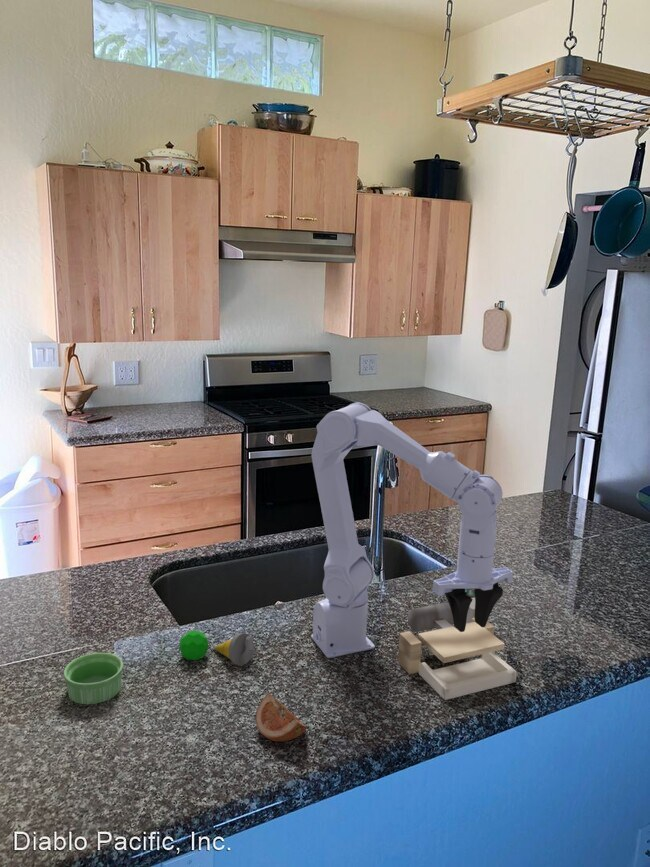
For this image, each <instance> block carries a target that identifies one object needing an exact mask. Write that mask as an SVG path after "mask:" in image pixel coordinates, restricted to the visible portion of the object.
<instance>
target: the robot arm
mask: <svg viewBox="0 0 650 867" xmlns="http://www.w3.org/2000/svg"><path fill="white" fill-rule="evenodd" d="M316 432H317V433H316V436H315V440H314V443H313V447H312V450H311V462H312V467H313V472H314V478H315V483H316V489H317V494H318V500H319V503H320V509H321V515H322V521H323V525H324V532H325V537H326V543H327V547H328V552H327V555H326V558H325V561H324V565H323V570H324V578H323V581H322V591H323V594H324V596H325V598H324V599H323V600H320V601H317V602H315V603H314V606H313V611H312V612H313V618H312V619H313V620H312V634H311V635H310V638H311V639H312V641H313V642H315V644H316V646H317V647H318V648H319V649H320V651H321V652H322V653H323V655H324V656H325V657H326V658H328V659H331V658H336V657H341V656H346V655H350V654H355V653H360V652H365V651H369V650H374V649H375V648H376V645H375V644H374V643H373V642H372V640H370V639H369V637H368V636H367V626H368V624H367V623H368V604H369V594H368V586H369V585H371V583H372V582H373V581H374V577H375V571H374V566H373V565H372V563H371V562H370V560H369V558H368V556H367V552H366V549H365V548H364V546H362V545H361V544H359V541H358V540H359V539H358V535H357V528H356V523H355V518H354V512H353V508H352V500H351V495H350V491H349V484H348V480H347V478H348V477H347V473H346V468H345V462H344V459H345V457H346V456H347V455H348V454H349V452H351V450H352V449H353V448H354V446H355V445H356V447H366V446H379V447H381V448H382V449H384V450H386V451H387V452H389V453H391V454H393V455H395V456H396V457H398V458H399V459H401V460H403V461H405V462H406V463H408V464H409V465H411V466H412V467H415V468H417V469H418V471H419V474H420V477H421V480H422V481H423V482H425V483H427V484H428V485H429V486H431V487H432V488H433V489H435V490H436V491H437V492H440V493H442V495H444V496H445V497H447V498H448V499H450V500H451V501H453V502H454V503H456V504H457V506H458V509H459V511H460V514H461V522H460V523H459V524H460V526H459V527H460V528H459V539H458V549H457V551H458V552H457V564H456V571H454V572H451V573H450V574H447V575H446V576H443V577H441V578H436V579H433V581H432V592H435V593H436V594H435V593H434V594H435V595H437V596H438V597H442V596H443V595H444V594H445V595H446V596H445V598H446V600H447V602H449V605H450V608H451V612H452V616H453V622H454V624H453V626H454V627H455V628H456V629H457V630H459V631H460V632H464V631H465V627H466V620H467V613H468V609H469V606H470V604H471V602H472V600H473V599H472V598H470V597H469V596H467V591H466V589H472V590H473V589H474V591H475V622H476V623H477V624H478V625H480V626H481V627H485V626H486V623H487V621H488V618H489V619H490V615H491V614H492V611H493V609H494V607H495V606H496V604H497V602H498V601H499V600H500V599H501V598H502V597H503V596H504V594H503V593H504V589H503V588H502V586H500V585H499V583H504V582H505V583H507V584H510V583H513V578H514V571H513V570H511V569H509V568H508V567H507V566H504V567H496V568H495V567H494V561H495V560H494V559H495V551H496V550H495V549H496V548H495V547H496V541H497V540H496V538H497V537H496V536H497V527H498V526H497V519H498V510H497V508H498V507H499V505H500V504H501V501H502V499H503V489H502V486H501V485H500V483H499V482H498V481H497V480H496V479H494V477H493V476H492V475H488V474H481V472H480V471H477V470H476V469H474V471H473V470H471V468H469V467H467V466H466V465H464V464H462V463H461V462H460V461H458V460H456V459H455V458H456V454H454V453H452V452H450V451H448V452H447V453H446V452H444V451H443V450H440V451H433V452H432V451H430V450H428V449H426V448H425V446H422V444H421V443H418V442H417V441H416V440H414V439H413V438H412V437H411V436H409V435H408V434H406V433H405V432H404V431H402V430H401V429H399V428H398V427H397V426H396V425H394V424H393V423H391V422H390V421H388V420H387V419H386V418H385V417H384V416H383V415H382V413H380V412H379V411H377V410H375V409H372V408H370V407H369V405H367V404H365V403H362V402H353V403H350V404H348V405H347V406H345V407H341V408H339V409H337V410H332V411H330V412H328V413H327V414H326V415H324V417H323V418H322V419H321V420H320V421H319V423H317V425H316ZM465 591H466V592H465ZM443 597H444V596H443ZM488 622H489V621H488Z"/></svg>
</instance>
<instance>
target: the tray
mask: <svg viewBox="0 0 650 867" xmlns="http://www.w3.org/2000/svg"><path fill="white" fill-rule="evenodd" d="M517 673H518V672H517V670H516V669H514V668H513V667H512V666H511V665H509V664H508V662H506V661H505V660H503V659H502V658H501V657H500V656H498V655H497V653H495V651H494V652H489V653H485V654H482V657H481V658H477V659H473V660H469V661H464V662H461V663H457V664H453V665H447V666H445V667H439V668H434V669H432V668H431V667H430V666H429V665H428V664H427V663H426V662H425V661H424V662H420V663H419V672H418V675H419V676H420V677H421V678H422V679H423V680H424V681H425V682H426V683H427V684H428V685H429V686H430V687H431V688H432V689H433V690H434V691H435V692H436V693H437V694H438V695H439V696H440V697H441V698H442V699H443V700H444V701H448V700H451V699H455V698H458V697H462V696H463V697H464V696H467V695H470V694H474V693H478V692H482V691H486V690H489V689H495V688H498V687H502V686H507V685H510V684H513V683H516V682H517V675H518V674H517Z"/></svg>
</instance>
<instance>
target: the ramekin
mask: <svg viewBox="0 0 650 867" xmlns="http://www.w3.org/2000/svg"><path fill="white" fill-rule="evenodd" d="M123 670H124V662H123V659H122V658H121V657H119V656H118V655H116V654H113V653H110V652H93V653H89V654H84V655H82V656H79V657H77V658H75V659H73V660H71V661H70V662H69V663H68V664H67V665H66V666H65V668H64V670H63V677H64V680H65V683H66V688H67V694H68V697H69V699H70V700H71V701H73V702H74V703H77V704H81V705H94V704H99V703H100V704H101V703H103V702H106V701H108V700H111V699H112V698H114V697H115V696H117V694H118V693H119V692H120V691H121V688H122V676H123V674H122V673H123Z"/></svg>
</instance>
